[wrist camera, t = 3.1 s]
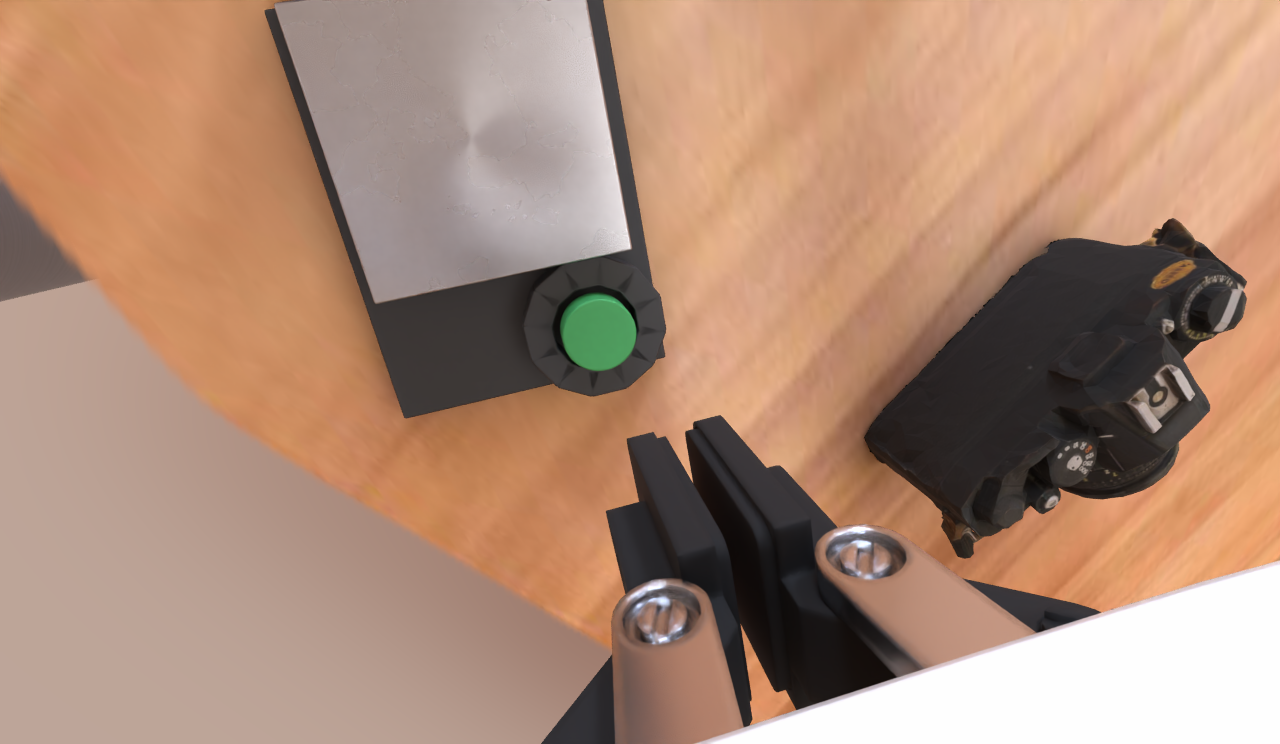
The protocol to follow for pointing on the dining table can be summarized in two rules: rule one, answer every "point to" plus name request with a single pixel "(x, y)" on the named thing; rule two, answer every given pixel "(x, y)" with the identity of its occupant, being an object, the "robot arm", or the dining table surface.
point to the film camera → (1062, 382)
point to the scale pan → (460, 135)
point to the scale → (506, 296)
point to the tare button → (597, 331)
